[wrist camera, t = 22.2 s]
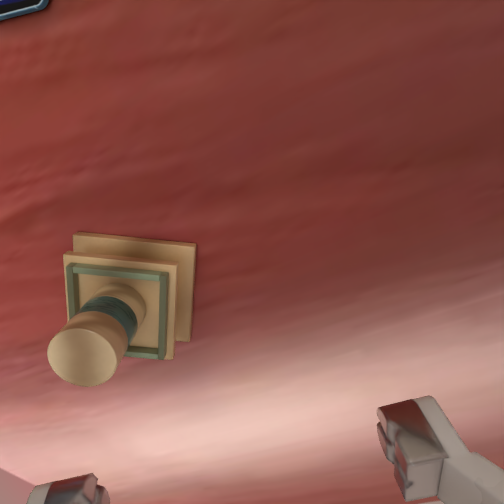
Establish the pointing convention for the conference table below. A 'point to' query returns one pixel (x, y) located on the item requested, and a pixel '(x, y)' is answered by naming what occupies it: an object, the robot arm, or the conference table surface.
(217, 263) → the conference table surface
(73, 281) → the stand
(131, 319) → the beige banded cylinder
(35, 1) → the smartphone
